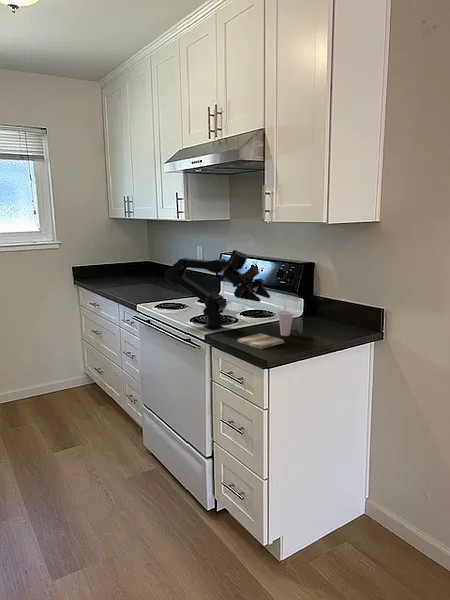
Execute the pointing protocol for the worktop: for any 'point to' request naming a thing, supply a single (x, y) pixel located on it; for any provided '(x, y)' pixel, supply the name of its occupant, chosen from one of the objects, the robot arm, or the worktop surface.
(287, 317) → the smoothie
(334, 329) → the worktop surface
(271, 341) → the cutting board
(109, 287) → the worktop surface
